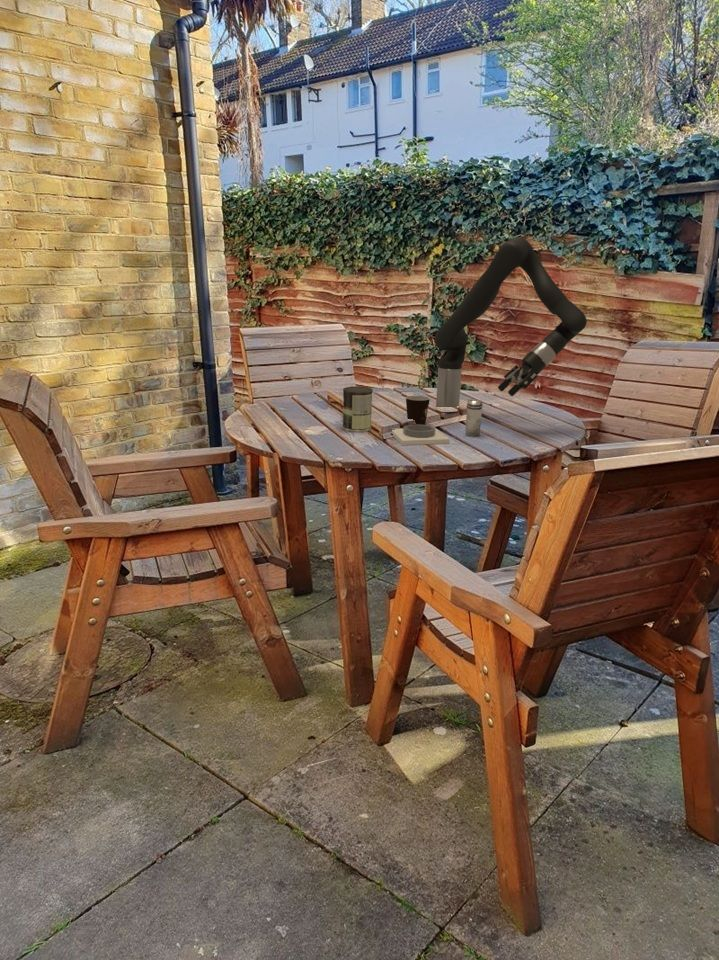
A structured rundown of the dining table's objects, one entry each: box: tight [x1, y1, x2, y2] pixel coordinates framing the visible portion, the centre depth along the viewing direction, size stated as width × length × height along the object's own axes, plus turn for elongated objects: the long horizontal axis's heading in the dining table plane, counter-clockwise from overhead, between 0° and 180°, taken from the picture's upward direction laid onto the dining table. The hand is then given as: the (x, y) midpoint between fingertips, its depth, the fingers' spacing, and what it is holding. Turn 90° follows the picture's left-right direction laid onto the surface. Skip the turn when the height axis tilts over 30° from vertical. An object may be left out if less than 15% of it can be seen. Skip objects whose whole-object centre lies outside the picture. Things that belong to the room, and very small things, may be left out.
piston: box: [464, 398, 484, 438], centre depth 232 cm, size 5×5×12 cm
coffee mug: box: [405, 395, 431, 425], centre depth 246 cm, size 12×9×10 cm
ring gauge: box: [392, 424, 451, 446], centre depth 228 cm, size 16×16×4 cm
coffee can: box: [342, 386, 374, 433], centre depth 237 cm, size 10×10×14 cm
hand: (504, 392), depth 232 cm, fingers open, 8 cm apart
